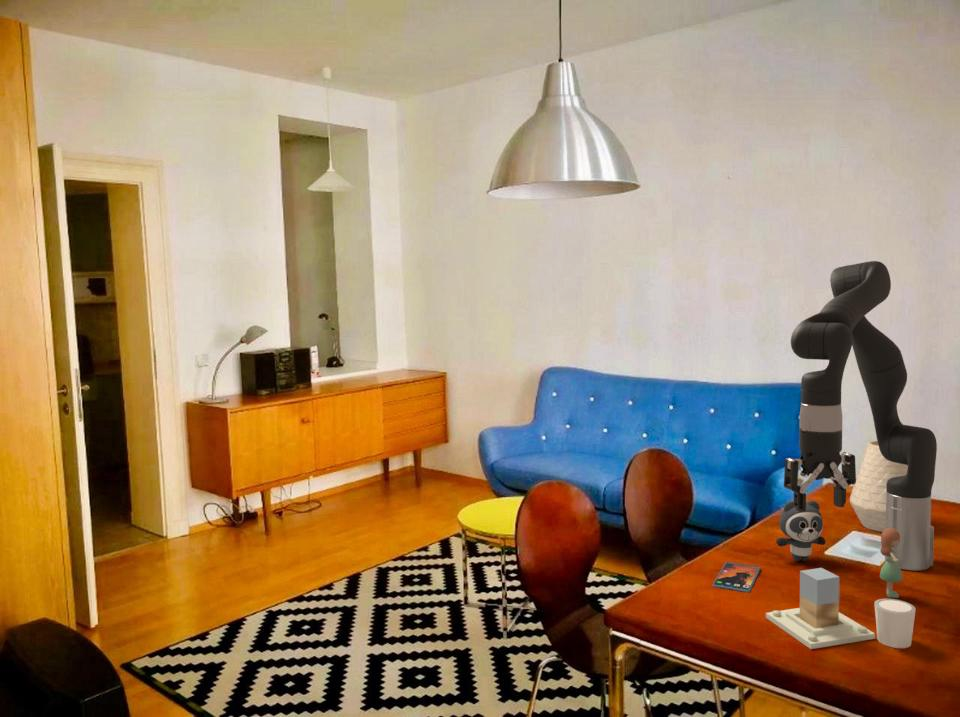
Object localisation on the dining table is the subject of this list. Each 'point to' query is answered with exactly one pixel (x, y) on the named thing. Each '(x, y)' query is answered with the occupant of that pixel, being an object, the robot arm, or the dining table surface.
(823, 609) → the tan wooden cube
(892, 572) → the toy
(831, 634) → the baseplate
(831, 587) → the grey cube
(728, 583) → the smartphone
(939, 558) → the dining table surface
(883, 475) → the vase
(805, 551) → the toy
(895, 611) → the white cup
